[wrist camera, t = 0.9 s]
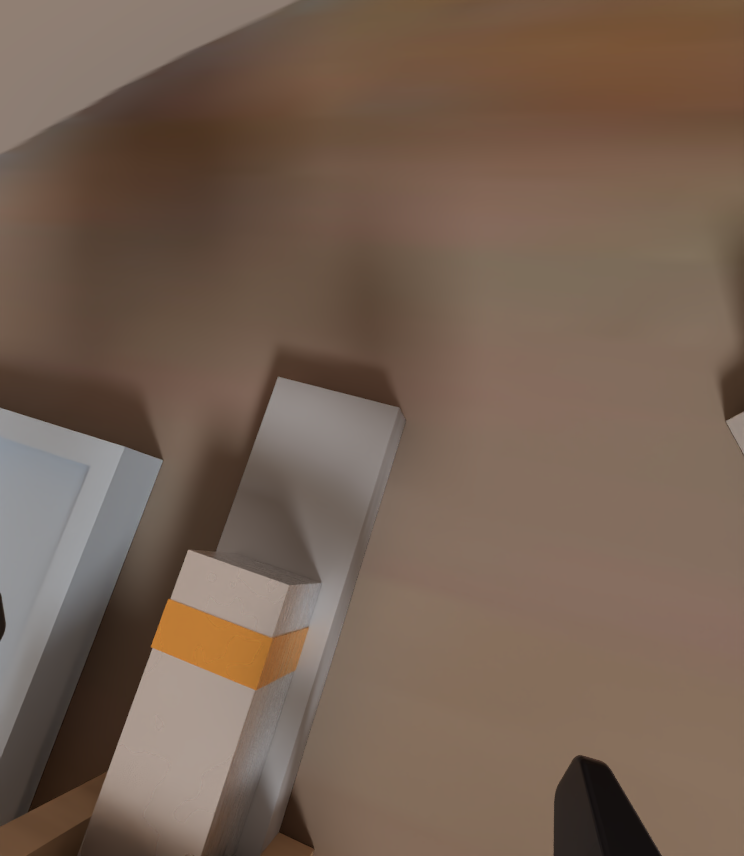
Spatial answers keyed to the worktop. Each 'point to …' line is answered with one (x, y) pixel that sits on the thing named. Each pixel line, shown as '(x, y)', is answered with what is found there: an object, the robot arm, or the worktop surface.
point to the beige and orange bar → (203, 710)
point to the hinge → (737, 429)
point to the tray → (55, 578)
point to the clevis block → (288, 550)
